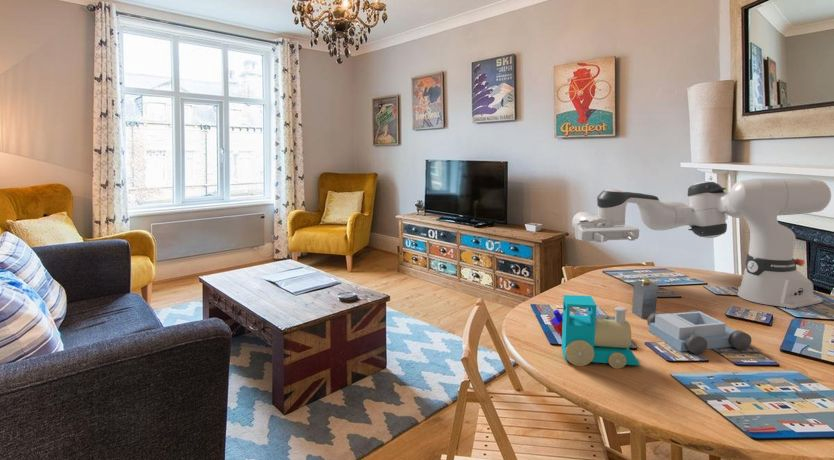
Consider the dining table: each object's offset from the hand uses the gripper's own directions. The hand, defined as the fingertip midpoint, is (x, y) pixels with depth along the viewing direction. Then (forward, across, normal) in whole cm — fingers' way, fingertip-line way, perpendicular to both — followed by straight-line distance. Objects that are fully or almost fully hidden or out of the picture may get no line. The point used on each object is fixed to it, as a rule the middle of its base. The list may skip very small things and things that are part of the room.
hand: (619, 238), depth 141 cm
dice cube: (+29, +18, -20) cm, 39 cm away
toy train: (+41, +26, -19) cm, 52 cm away
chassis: (+33, -4, -19) cm, 38 cm away
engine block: (+16, 0, -20) cm, 26 cm away
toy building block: (+25, +28, -20) cm, 42 cm away
